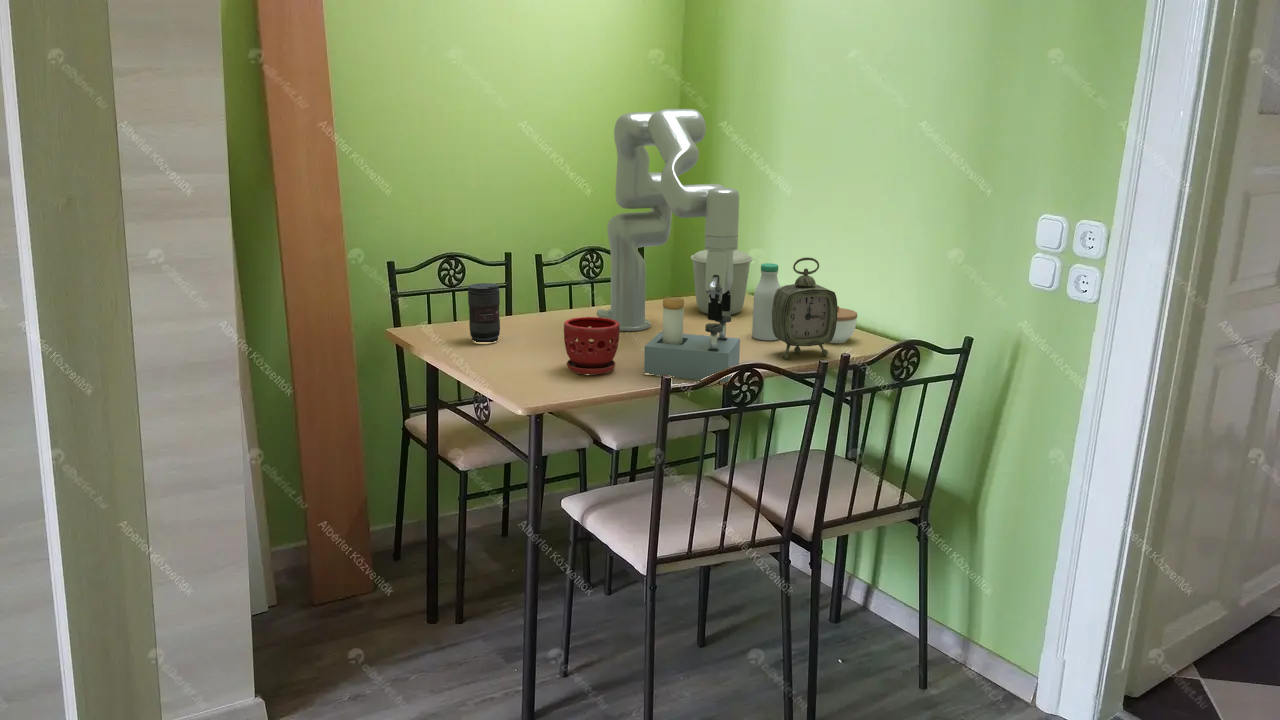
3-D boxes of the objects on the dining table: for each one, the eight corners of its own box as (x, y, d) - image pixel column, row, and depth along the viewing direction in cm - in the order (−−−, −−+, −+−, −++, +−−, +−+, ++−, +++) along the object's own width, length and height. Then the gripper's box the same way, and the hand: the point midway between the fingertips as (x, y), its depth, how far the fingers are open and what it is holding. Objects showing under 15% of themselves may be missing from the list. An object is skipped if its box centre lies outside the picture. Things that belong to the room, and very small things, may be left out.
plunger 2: (712, 346, 239) (713, 316, 237) (715, 341, 243) (716, 313, 241) (728, 347, 238) (729, 318, 236) (731, 343, 242) (732, 314, 240)
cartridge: (659, 358, 238) (660, 301, 234) (664, 353, 243) (665, 296, 239) (679, 360, 237) (681, 302, 233) (684, 354, 241) (686, 298, 238)
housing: (644, 374, 236) (644, 346, 234) (659, 359, 248) (660, 331, 246) (727, 382, 230) (728, 353, 228) (738, 366, 243) (740, 338, 241)
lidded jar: (807, 337, 271) (809, 303, 268) (842, 334, 274) (844, 300, 271) (827, 347, 261) (829, 312, 258) (863, 343, 264) (865, 309, 262)
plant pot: (620, 377, 233) (621, 328, 230) (564, 378, 232) (563, 328, 229) (617, 362, 246) (618, 314, 242) (564, 362, 245) (563, 315, 241)
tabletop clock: (781, 361, 247) (786, 261, 240) (767, 351, 256) (771, 255, 249) (834, 357, 251) (841, 259, 244) (818, 348, 260) (824, 253, 253)
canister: (677, 313, 295) (679, 242, 289) (709, 302, 309) (711, 234, 303) (730, 322, 285) (733, 249, 279) (761, 310, 299) (764, 240, 294)
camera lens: (506, 339, 265) (505, 284, 261) (489, 346, 258) (488, 289, 254) (481, 335, 268) (479, 281, 264) (463, 343, 261) (461, 286, 257)
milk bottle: (779, 342, 265) (783, 267, 259) (750, 340, 267) (753, 266, 261) (781, 334, 272) (785, 262, 267) (753, 333, 274) (756, 261, 268)
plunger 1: (702, 357, 230) (703, 326, 228) (706, 352, 234) (707, 322, 232) (719, 358, 229) (721, 328, 227) (723, 354, 233) (724, 324, 231)
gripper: (713, 236, 238) (711, 306, 243) (696, 247, 222) (695, 322, 227) (744, 237, 236) (741, 308, 241) (730, 249, 220) (727, 325, 225)
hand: (719, 315), depth 234 cm, fingers open, 9 cm apart
